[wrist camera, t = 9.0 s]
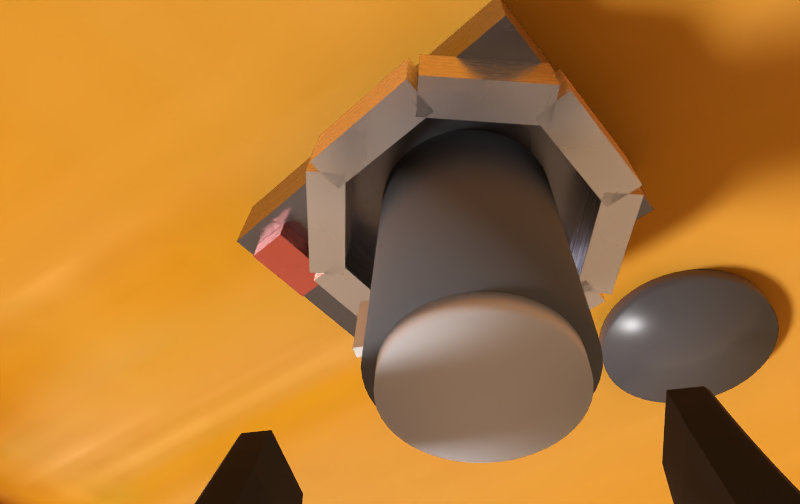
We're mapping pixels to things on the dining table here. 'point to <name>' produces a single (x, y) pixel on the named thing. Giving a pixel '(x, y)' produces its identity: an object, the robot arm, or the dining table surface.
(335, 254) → the grey octagonal container
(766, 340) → the lens cap
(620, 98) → the dining table surface
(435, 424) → the lens
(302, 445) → the dining table surface
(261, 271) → the dining table surface
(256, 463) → the robot arm
